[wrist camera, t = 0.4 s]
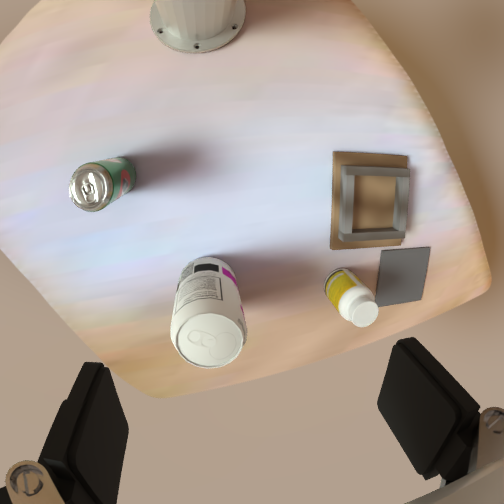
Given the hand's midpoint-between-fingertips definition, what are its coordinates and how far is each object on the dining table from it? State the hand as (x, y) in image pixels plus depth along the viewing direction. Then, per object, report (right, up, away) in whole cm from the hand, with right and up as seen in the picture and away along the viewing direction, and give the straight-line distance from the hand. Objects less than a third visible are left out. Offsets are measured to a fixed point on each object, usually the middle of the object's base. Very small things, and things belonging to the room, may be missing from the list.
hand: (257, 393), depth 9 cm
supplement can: (-7, 0, +37) cm, 37 cm away
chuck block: (+17, +12, +35) cm, 41 cm away
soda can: (-18, +15, +30) cm, 38 cm away
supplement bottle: (+13, 0, +40) cm, 42 cm away
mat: (+25, 0, +41) cm, 48 cm away
